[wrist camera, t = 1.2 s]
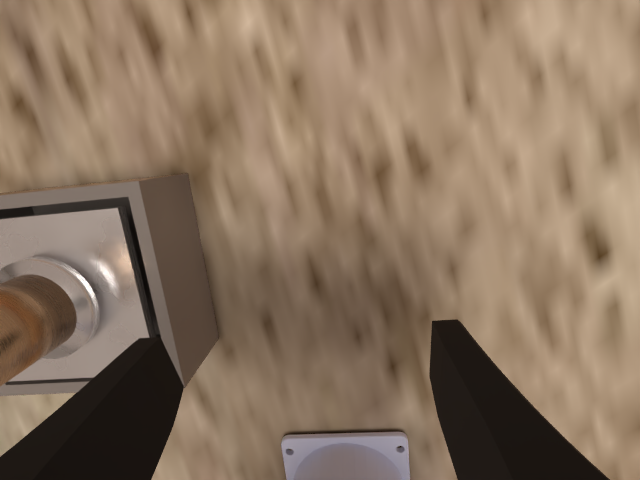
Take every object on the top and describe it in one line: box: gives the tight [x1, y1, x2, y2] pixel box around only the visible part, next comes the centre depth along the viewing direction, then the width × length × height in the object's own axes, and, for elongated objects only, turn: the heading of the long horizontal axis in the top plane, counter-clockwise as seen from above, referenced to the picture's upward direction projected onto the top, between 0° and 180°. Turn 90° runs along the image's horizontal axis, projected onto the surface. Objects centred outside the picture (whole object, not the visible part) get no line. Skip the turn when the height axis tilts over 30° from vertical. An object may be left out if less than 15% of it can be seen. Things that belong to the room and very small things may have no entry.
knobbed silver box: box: [0, 173, 219, 396], centre depth 19 cm, size 10×12×5 cm
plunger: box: [0, 206, 156, 386], centre depth 15 cm, size 8×8×5 cm
